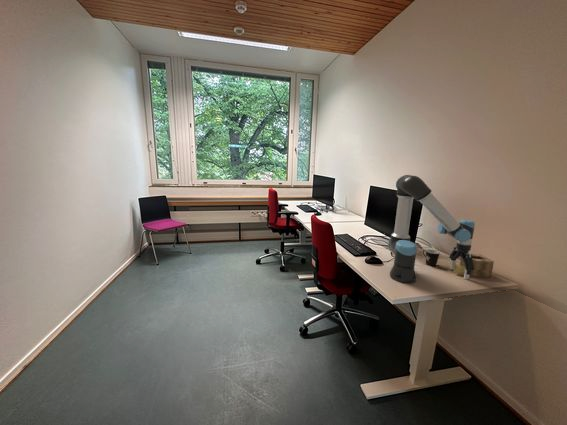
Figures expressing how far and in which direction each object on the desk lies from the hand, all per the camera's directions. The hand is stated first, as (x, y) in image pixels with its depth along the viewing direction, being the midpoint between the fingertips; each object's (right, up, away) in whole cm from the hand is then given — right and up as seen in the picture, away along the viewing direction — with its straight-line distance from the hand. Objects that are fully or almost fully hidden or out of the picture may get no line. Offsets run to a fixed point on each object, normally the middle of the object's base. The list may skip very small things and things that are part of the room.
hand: (459, 273), depth 155 cm
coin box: (+12, 0, +2) cm, 12 cm away
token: (0, 0, 0) cm, 0 cm away
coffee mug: (-9, +3, +16) cm, 19 cm away
